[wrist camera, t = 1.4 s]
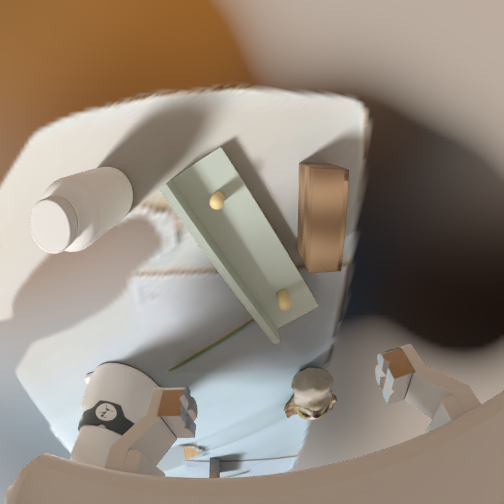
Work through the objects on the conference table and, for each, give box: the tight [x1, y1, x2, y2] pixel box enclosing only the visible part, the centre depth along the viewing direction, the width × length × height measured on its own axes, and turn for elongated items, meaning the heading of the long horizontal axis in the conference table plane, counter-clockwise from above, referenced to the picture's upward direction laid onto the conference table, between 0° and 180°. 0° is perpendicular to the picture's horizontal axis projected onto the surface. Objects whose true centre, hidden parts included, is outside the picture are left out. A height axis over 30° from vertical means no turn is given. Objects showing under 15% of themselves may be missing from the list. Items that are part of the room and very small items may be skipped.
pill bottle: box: [30, 167, 133, 254], centre depth 28 cm, size 8×8×15 cm
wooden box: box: [297, 163, 349, 273], centre depth 34 cm, size 12×4×7 cm, turn 1°
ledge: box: [159, 147, 319, 345], centre depth 37 cm, size 26×8×5 cm, turn 31°
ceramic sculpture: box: [284, 367, 337, 420], centre depth 47 cm, size 11×9×15 cm
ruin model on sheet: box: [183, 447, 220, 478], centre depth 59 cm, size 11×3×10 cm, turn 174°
